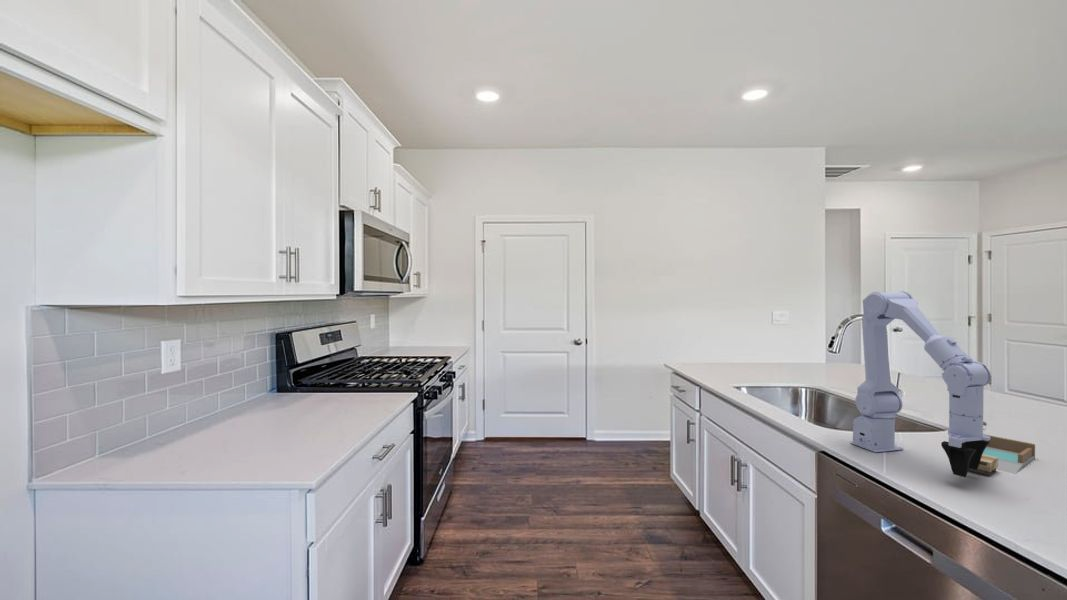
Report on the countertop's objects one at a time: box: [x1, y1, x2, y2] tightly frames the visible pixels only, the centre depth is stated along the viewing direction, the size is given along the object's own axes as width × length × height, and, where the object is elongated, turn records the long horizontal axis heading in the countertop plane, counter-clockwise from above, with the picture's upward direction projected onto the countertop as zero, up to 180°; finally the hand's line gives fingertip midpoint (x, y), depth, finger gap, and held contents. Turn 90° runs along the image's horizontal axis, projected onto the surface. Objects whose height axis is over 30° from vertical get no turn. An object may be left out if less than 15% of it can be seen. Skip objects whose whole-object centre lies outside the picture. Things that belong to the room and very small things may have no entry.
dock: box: [983, 433, 1036, 475], centre depth 116 cm, size 18×10×5 cm, turn 121°
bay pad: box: [983, 448, 1018, 462], centre depth 117 cm, size 7×8×1 cm
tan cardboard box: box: [968, 454, 998, 477], centre depth 109 cm, size 6×5×3 cm
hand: (965, 471), depth 104 cm, fingers open, 7 cm apart
